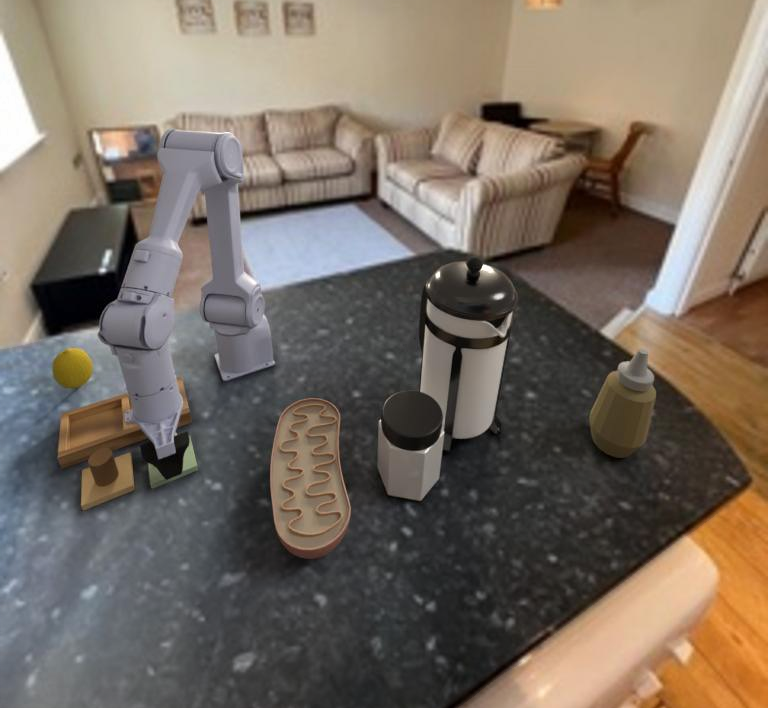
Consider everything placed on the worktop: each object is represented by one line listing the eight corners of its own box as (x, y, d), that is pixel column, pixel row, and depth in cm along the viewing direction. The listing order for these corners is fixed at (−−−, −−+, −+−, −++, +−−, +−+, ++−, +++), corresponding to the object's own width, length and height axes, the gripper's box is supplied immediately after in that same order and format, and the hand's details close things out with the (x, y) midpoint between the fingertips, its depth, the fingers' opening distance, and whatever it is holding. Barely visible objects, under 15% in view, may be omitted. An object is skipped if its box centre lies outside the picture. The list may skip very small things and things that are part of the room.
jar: (404, 438, 70) (408, 379, 65) (448, 469, 65) (456, 408, 60) (365, 477, 63) (366, 415, 58) (411, 514, 59) (416, 450, 54)
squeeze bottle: (635, 430, 72) (669, 340, 65) (644, 472, 66) (683, 377, 58) (582, 416, 75) (608, 328, 67) (585, 455, 68) (615, 362, 60)
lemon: (80, 400, 75) (67, 363, 71) (52, 395, 76) (37, 358, 72) (105, 378, 80) (93, 342, 76) (78, 373, 81) (66, 337, 77)
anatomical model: (355, 568, 53) (355, 542, 51) (268, 584, 51) (264, 557, 49) (338, 417, 73) (337, 394, 71) (276, 425, 71) (273, 401, 69)
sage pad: (191, 439, 68) (185, 415, 66) (198, 470, 64) (192, 445, 62) (147, 456, 66) (140, 431, 64) (151, 489, 61) (144, 464, 59)
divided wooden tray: (65, 424, 70) (61, 413, 70) (183, 386, 79) (181, 375, 78) (61, 469, 63) (57, 458, 62) (192, 422, 71) (189, 411, 70)
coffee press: (510, 399, 78) (540, 244, 65) (489, 473, 65) (522, 297, 52) (417, 368, 84) (428, 222, 72) (381, 430, 71) (386, 264, 58)
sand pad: (131, 456, 66) (124, 432, 63) (134, 490, 61) (126, 464, 59) (83, 474, 63) (74, 449, 61) (82, 510, 58) (72, 485, 56)
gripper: (114, 357, 62) (135, 428, 68) (118, 432, 51) (143, 510, 56) (169, 342, 65) (184, 411, 71) (185, 409, 54) (201, 485, 60)
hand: (170, 453), depth 64 cm, fingers open, 7 cm apart
